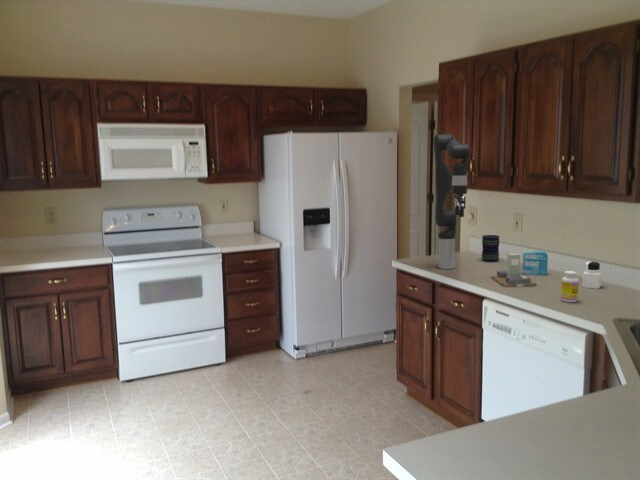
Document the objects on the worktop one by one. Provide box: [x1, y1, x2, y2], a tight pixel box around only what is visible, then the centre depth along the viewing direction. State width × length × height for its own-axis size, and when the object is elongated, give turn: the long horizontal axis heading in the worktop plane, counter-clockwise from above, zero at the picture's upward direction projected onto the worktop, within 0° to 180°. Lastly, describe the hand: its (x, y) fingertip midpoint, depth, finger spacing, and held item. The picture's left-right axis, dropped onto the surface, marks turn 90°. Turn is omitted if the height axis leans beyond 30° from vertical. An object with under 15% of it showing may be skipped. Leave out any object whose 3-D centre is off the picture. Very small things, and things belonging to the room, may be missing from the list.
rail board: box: [490, 270, 538, 288], centre depth 285 cm, size 20×16×4 cm
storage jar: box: [481, 234, 500, 263], centre depth 338 cm, size 10×10×15 cm
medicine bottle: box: [582, 261, 602, 290], centre depth 271 cm, size 7×7×12 cm
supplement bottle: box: [560, 270, 579, 303], centre depth 248 cm, size 7×7×13 cm
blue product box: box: [522, 250, 548, 276], centre depth 301 cm, size 12×4×12 cm, turn 73°
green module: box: [506, 252, 521, 277], centre depth 284 cm, size 5×5×13 cm
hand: (459, 216), depth 290 cm, fingers open, 8 cm apart
